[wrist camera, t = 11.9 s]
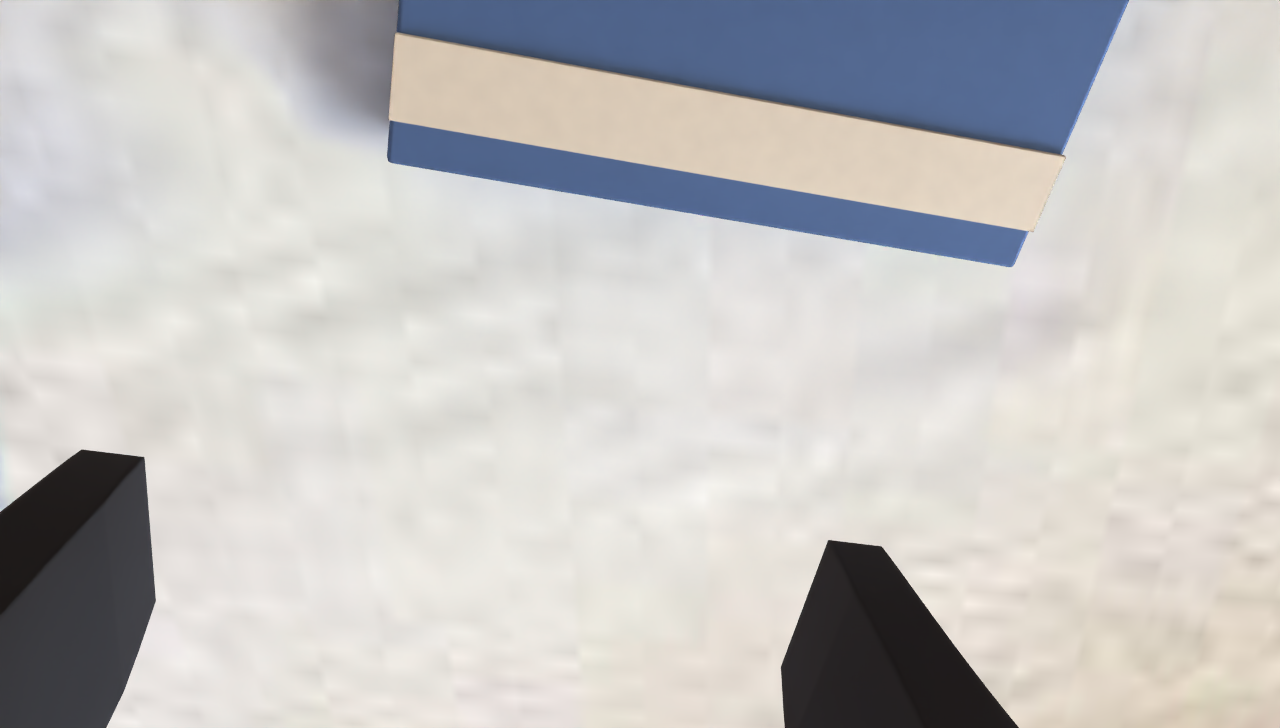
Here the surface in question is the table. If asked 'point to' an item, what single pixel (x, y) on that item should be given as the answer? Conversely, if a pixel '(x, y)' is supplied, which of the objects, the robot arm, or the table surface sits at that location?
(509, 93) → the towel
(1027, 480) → the table surface
